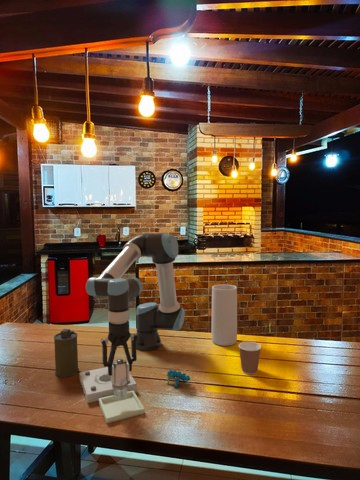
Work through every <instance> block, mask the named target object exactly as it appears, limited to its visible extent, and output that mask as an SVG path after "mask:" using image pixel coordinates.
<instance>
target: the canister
mask: <svg viewBox="0 0 360 480" xmlns="http://www.w3.org/2000/svg"><path fill="white" fill-rule="evenodd" d="M53 340H54V364H55V372H54V374H55V375H56V376H57V377H61V378H66V376H67V377H71V376H73V375H76V374H77V373H78V372H79V370H80V369H79V356H78V355H79V354H78V353H79V351H78V333H77V332H75V331H74V330H71V329H69V328H64V329H62V330H61V331H60V332H59V333H58V332H57V333H56V334H55V335H54V336H53Z"/></svg>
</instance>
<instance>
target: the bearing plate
mask: <svg viewBox="0 0 360 480" xmlns="http://www.w3.org/2000/svg"><path fill="white" fill-rule="evenodd" d="M129 377H130V381H127V382H128V387H127V392H129V391H134V392H135V393H136V392H137V389H138V388H137V387H138V385H137V382H136V381H135V379H134V377H133V375H132V374H131V373H130V372H129ZM79 382H80V385H82V386H81V388H83V389H82V392H83V395H84V394H85V395H84V397H85V400H86V403H87V404H89V403H94V402H99V398H103V397H107V396H112V395H114V389H113V388H112V383H111V376H109V374H108V367H99V368H95V369H91V370H85V371H81V372H79Z"/></svg>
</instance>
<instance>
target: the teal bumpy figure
mask: <svg viewBox="0 0 360 480" xmlns="http://www.w3.org/2000/svg"><path fill="white" fill-rule="evenodd" d="M166 377H167V382H166V384H167V385H169V384H170V380H171V381H172V380H173V381H175V385H174V388H176V389H177V388H178V385H179V382H180V381H182V382H189V381H191V377H190V376H189V375H187V373H186V372H185V373H184V372H183V373H182V371H179V370H178V371H177V370H175V369H172V370H171V369H170V370H168V371H167V372H166Z"/></svg>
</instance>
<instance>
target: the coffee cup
mask: <svg viewBox="0 0 360 480" xmlns="http://www.w3.org/2000/svg"><path fill="white" fill-rule="evenodd" d="M238 349H239V358H240V368H241V371H242V373H244V374H247V375H255V374H257V373H258V369H259V363H260V355H261V349H262V345H261V344H259V343H257V342H254V341H243V342H240V343H239V344H238Z"/></svg>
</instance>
